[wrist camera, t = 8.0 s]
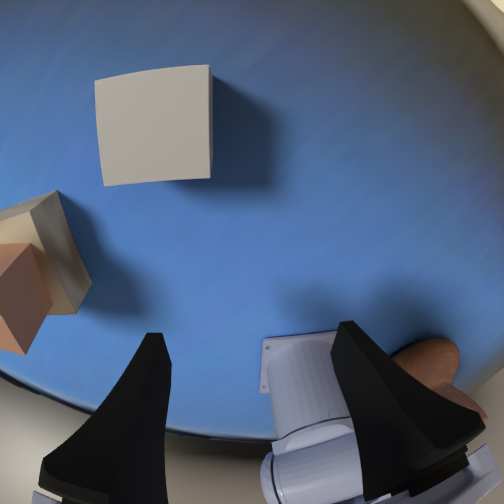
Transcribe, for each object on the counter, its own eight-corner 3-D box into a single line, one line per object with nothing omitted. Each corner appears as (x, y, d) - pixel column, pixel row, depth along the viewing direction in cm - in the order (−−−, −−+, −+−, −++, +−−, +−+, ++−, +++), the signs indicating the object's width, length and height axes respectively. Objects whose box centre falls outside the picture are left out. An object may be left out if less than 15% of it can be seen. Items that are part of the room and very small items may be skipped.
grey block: (213, 155, 16) (210, 178, 12) (133, 161, 16) (104, 186, 11) (212, 75, 13) (208, 64, 9) (129, 84, 13) (94, 80, 9)
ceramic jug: (330, 378, 30) (363, 485, 18) (430, 303, 25) (497, 404, 13) (385, 403, 37) (412, 472, 25) (456, 351, 33) (495, 418, 21)
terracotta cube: (53, 303, 16) (25, 355, 12) (9, 299, 15) (-18, 343, 11) (30, 242, 13) (-11, 290, 9) (-13, 244, 13) (-51, 285, 9)
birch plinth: (93, 280, 20) (76, 313, 17) (30, 288, 20) (11, 316, 16) (59, 188, 16) (29, 211, 12) (-4, 211, 16) (-31, 233, 12)
